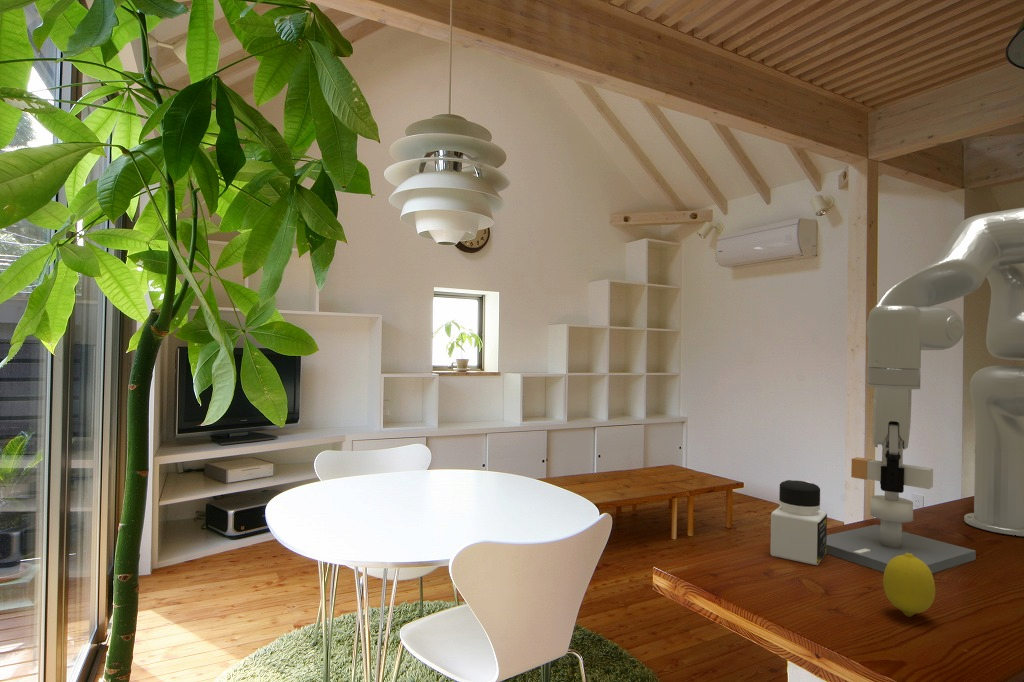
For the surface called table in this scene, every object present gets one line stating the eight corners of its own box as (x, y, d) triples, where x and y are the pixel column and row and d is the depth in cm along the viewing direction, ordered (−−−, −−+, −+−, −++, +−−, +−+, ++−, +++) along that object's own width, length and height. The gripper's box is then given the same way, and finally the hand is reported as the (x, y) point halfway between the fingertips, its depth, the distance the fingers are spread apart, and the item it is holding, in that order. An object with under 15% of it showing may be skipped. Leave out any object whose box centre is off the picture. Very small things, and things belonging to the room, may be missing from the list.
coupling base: (876, 532, 112) (876, 500, 112) (975, 559, 98) (976, 523, 98) (809, 547, 102) (809, 512, 102) (909, 580, 88) (909, 539, 89)
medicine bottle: (818, 566, 94) (819, 489, 94) (769, 556, 98) (771, 482, 98) (826, 554, 99) (827, 481, 99) (780, 545, 104) (781, 475, 104)
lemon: (874, 605, 79) (875, 544, 80) (919, 608, 79) (920, 547, 79) (896, 624, 74) (897, 559, 74) (944, 627, 73) (945, 562, 73)
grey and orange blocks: (847, 512, 103) (847, 459, 103) (859, 506, 107) (860, 456, 107) (924, 528, 94) (925, 471, 94) (935, 521, 98) (936, 466, 98)
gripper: (867, 376, 110) (865, 477, 109) (867, 379, 95) (865, 495, 95) (916, 378, 106) (915, 483, 106) (924, 382, 92) (922, 502, 91)
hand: (891, 487), depth 100 cm, fingers closed on grey and orange blocks, 3 cm apart
